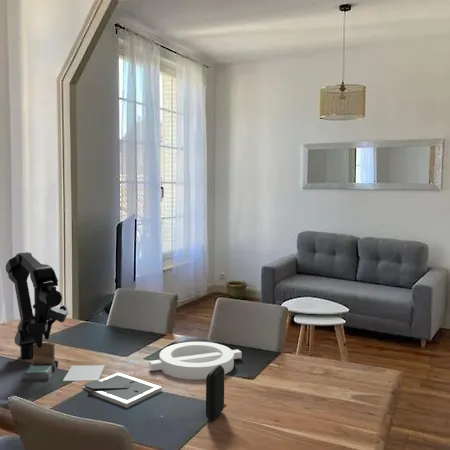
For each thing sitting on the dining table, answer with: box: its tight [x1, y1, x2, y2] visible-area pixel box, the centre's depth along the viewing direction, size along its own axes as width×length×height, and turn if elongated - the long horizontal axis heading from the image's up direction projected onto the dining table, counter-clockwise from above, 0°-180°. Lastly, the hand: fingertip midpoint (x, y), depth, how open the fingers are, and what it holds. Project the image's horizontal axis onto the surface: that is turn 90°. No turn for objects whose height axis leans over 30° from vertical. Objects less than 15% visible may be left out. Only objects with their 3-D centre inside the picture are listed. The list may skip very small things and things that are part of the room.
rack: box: [20, 360, 59, 382], centre depth 183 cm, size 14×9×3 cm, turn 4°
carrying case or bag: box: [205, 365, 225, 422], centre depth 153 cm, size 11×3×15 cm, turn 159°
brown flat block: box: [32, 342, 56, 364], centre depth 187 cm, size 2×7×9 cm, turn 94°
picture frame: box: [82, 372, 163, 409], centre depth 170 cm, size 16×3×21 cm
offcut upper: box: [26, 366, 52, 373], centre depth 181 cm, size 6×7×1 cm
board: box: [62, 364, 106, 382], centre depth 183 cm, size 14×12×1 cm
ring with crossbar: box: [148, 341, 243, 380], centre depth 195 cm, size 28×28×5 cm
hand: (43, 343), depth 186 cm, fingers open, 9 cm apart
